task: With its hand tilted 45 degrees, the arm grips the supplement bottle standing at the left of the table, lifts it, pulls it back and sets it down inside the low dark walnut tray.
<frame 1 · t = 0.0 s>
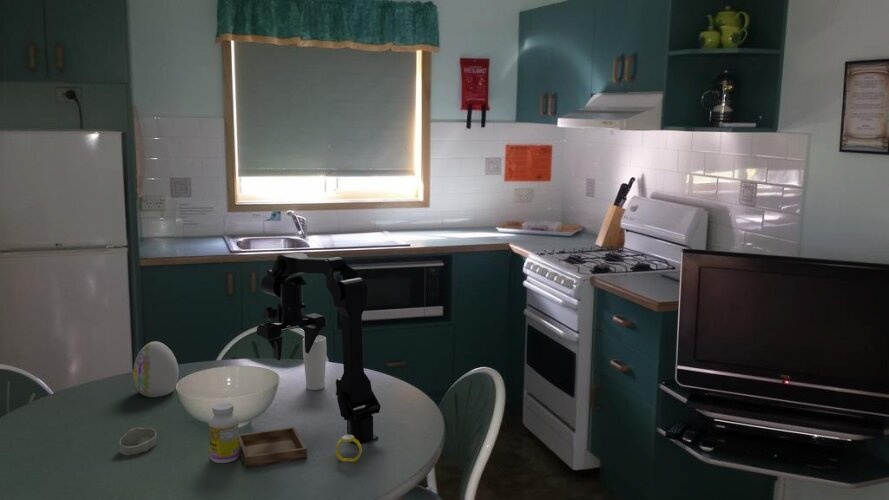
hand: (293, 356, 222), 15 cm above the table, tool pointing down, fingers open, 9 cm apart
grey hollow oval piece: (138, 450, 198), on the table
walnut tray: (271, 451, 196), on the table
drinking glass: (315, 388, 241), on the table
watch: (348, 461, 192), on the table
supplement bottle: (225, 458, 193), on the table
decorative egg: (157, 393, 236), on the table
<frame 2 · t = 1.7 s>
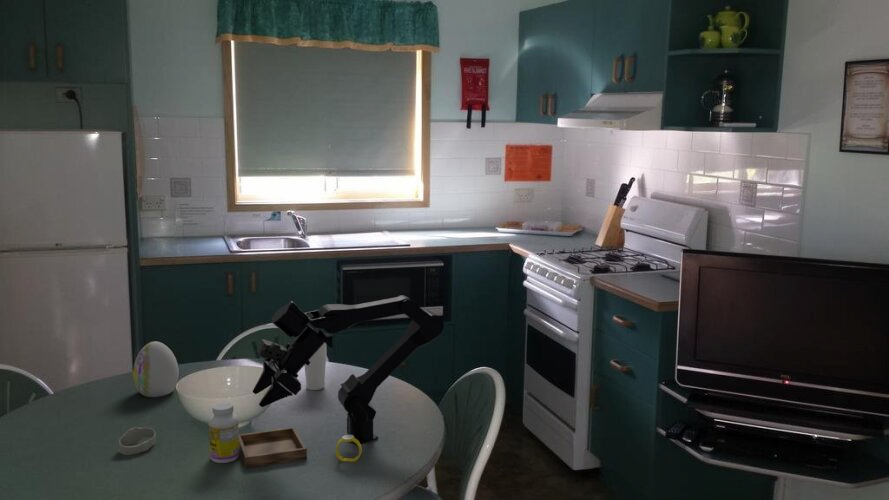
hand: (257, 399, 193), 13 cm above the table, tool tilted 45°, fingers open, 9 cm apart
nothing on the table moved.
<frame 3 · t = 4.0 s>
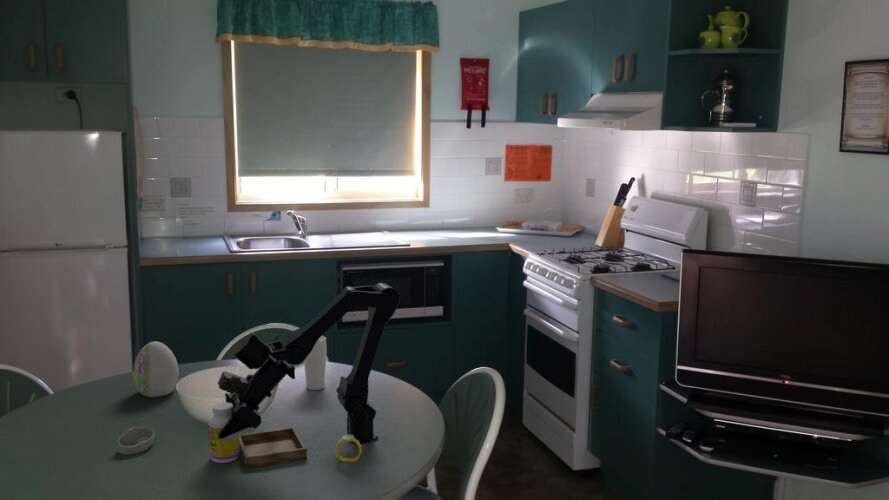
hand: (217, 432, 191), 7 cm above the table, tool tilted 45°, fingers closed on supplement bottle, 7 cm apart
supplement bottle: (225, 458, 193), on the table, touching gripper
everything else where it was.
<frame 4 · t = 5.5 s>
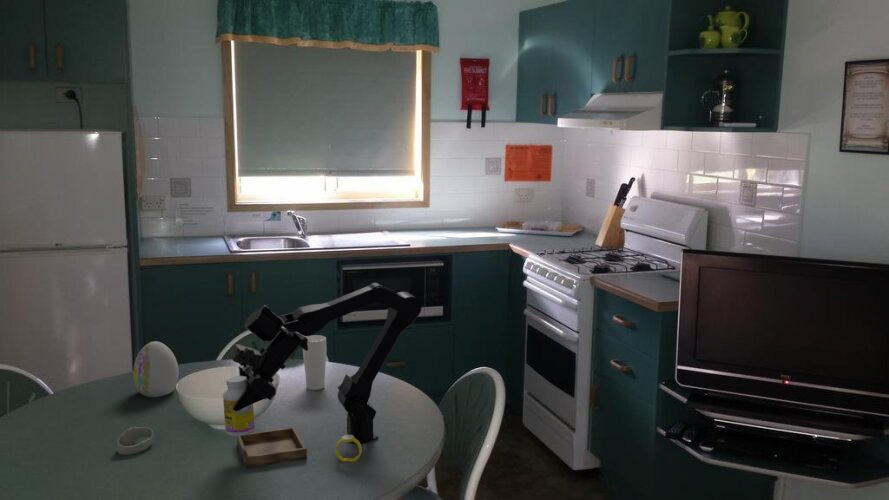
hand: (232, 404, 191), 13 cm above the table, tool tilted 45°, fingers closed on supplement bottle, 7 cm apart
supplement bottle: (240, 432, 193), point 6 cm above the table, touching gripper
everything else where it was.
when the fingers open (8 cm above the table, at t = 7.4 s): supplement bottle drops 1 cm, resting on walnut tray.
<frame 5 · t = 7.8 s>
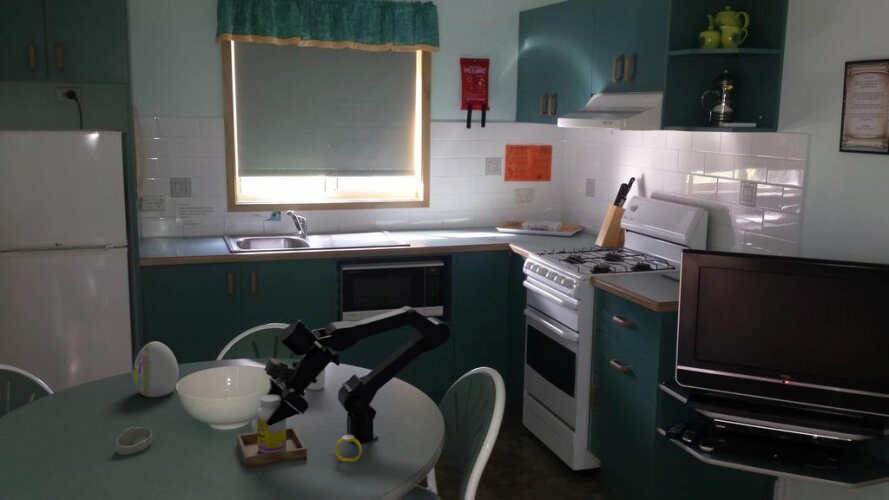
hand: (264, 417, 194), 9 cm above the table, tool tilted 45°, fingers open, 9 cm apart
supplement bottle: (272, 450, 196), resting on walnut tray
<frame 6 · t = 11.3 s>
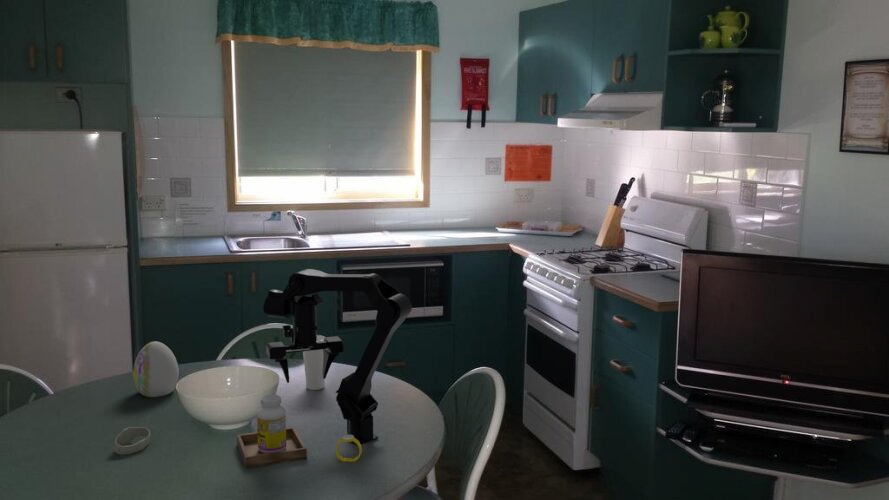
hand: (306, 380, 208), 13 cm above the table, tool pointing down, fingers open, 9 cm apart
at the end: supplement bottle inside the target area on the walnut tray (0.2 cm from its centre), point 0.4 cm above the walnut tray's base; supplement bottle tilted 0°; the gripper is holding nothing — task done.
